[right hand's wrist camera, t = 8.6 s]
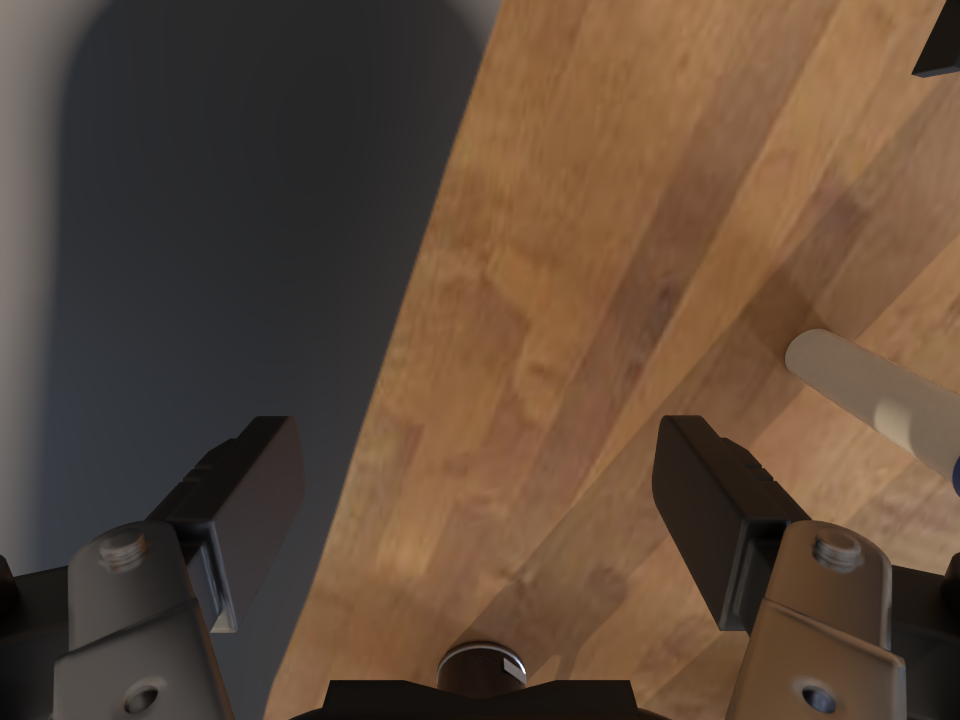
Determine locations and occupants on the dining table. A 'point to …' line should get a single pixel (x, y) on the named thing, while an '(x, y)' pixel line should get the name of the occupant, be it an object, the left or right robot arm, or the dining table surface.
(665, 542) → the dining table surface
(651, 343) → the dining table surface
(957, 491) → the lid
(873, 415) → the beige cylindrical rod
